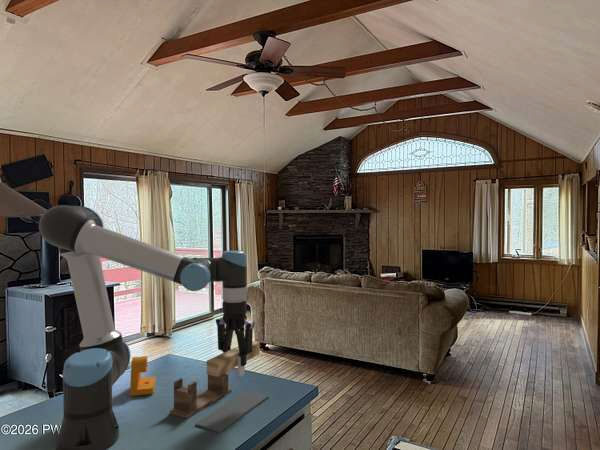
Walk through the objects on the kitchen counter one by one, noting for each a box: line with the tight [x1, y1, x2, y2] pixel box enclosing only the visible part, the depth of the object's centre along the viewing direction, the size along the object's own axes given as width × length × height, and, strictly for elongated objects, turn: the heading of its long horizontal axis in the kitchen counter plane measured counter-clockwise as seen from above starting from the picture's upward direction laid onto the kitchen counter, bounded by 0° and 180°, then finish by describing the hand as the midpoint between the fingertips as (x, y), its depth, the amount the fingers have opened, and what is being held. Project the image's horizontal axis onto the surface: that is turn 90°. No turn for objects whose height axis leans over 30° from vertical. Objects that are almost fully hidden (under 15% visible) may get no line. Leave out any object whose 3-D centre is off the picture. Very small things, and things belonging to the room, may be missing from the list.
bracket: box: [169, 373, 233, 419], centre depth 134 cm, size 22×7×10 cm, turn 153°
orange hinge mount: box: [129, 355, 157, 396], centre depth 143 cm, size 11×7×12 cm, turn 15°
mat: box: [194, 390, 270, 434], centre depth 128 cm, size 26×9×1 cm, turn 152°
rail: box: [206, 340, 261, 377], centre depth 128 cm, size 22×4×4 cm, turn 152°
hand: (235, 374), depth 128 cm, fingers closed on rail, 4 cm apart
